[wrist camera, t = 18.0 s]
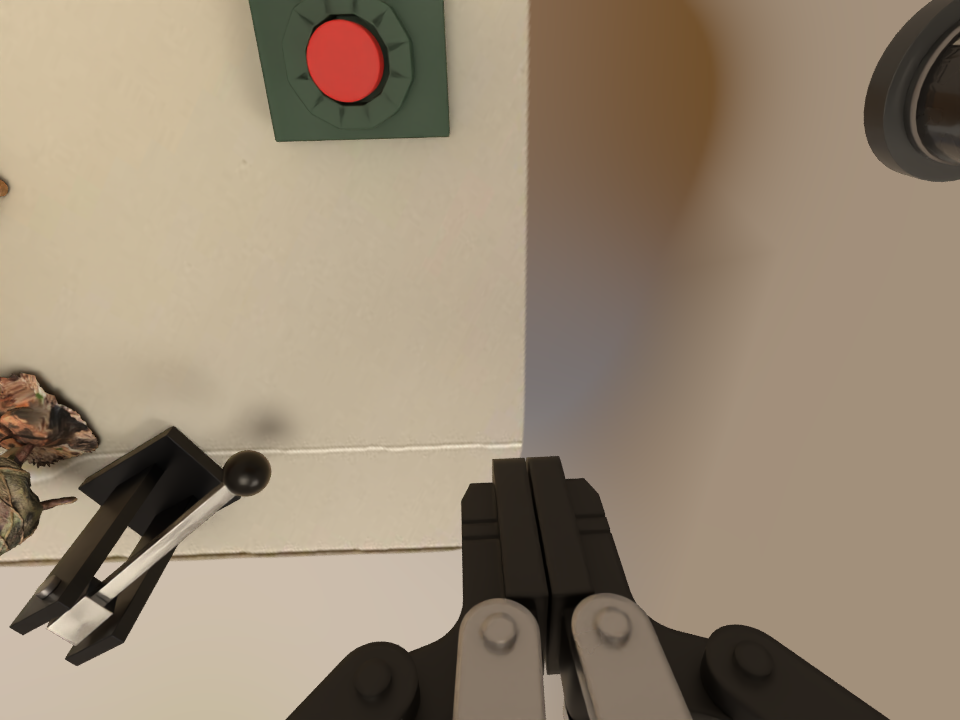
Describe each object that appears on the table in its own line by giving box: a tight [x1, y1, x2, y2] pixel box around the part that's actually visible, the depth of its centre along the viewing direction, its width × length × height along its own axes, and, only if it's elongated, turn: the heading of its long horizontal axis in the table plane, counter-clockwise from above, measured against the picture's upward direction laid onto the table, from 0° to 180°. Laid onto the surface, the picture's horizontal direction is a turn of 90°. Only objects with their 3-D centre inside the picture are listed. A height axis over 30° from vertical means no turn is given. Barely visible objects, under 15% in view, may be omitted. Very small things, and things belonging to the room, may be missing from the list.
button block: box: [249, 0, 450, 142], centre depth 30 cm, size 10×8×4 cm
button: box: [306, 19, 384, 102], centre depth 28 cm, size 4×4×2 cm
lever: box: [47, 450, 271, 646], centre depth 38 cm, size 16×3×3 cm, turn 122°
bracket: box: [10, 426, 241, 666], centre depth 41 cm, size 10×8×14 cm
